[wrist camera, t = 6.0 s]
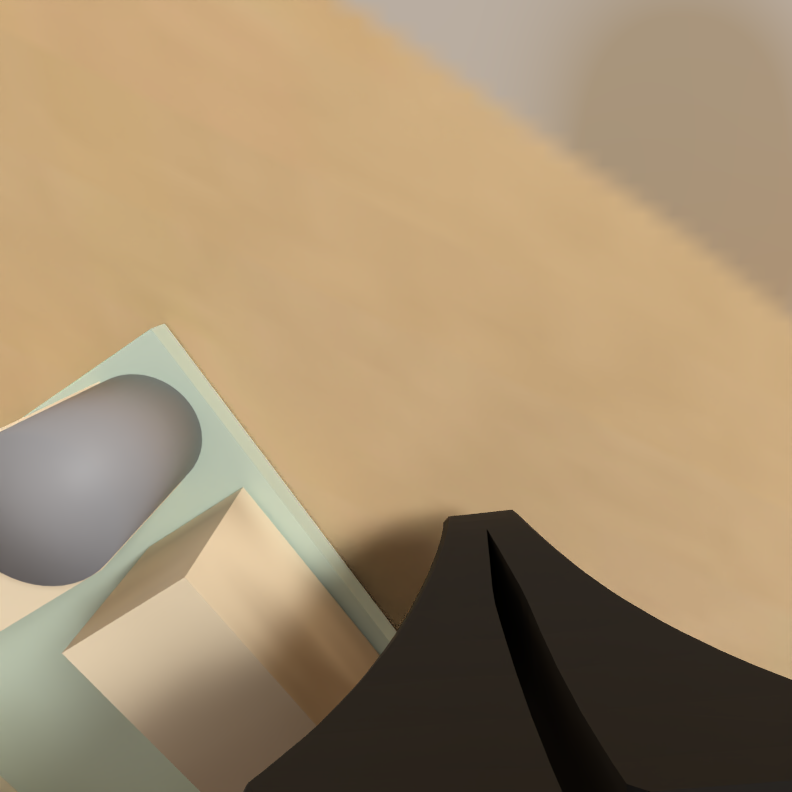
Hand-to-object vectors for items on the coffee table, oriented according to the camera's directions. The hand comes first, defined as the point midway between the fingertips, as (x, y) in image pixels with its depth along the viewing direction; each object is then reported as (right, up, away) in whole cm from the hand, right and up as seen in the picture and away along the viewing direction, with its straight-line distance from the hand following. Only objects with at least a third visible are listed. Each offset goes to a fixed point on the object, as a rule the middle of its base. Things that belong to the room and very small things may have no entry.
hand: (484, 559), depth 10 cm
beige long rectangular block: (-3, -3, +2) cm, 5 cm away
